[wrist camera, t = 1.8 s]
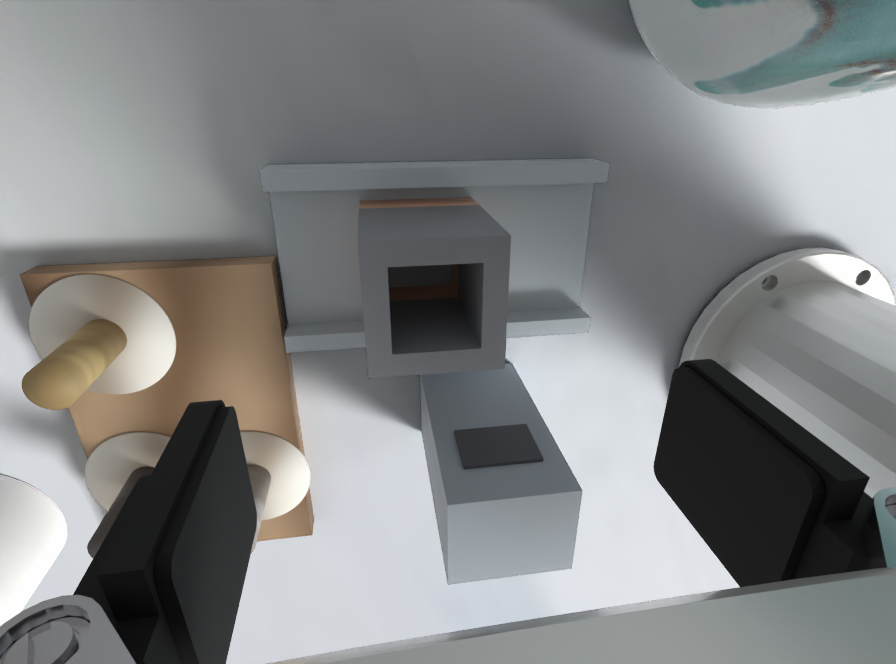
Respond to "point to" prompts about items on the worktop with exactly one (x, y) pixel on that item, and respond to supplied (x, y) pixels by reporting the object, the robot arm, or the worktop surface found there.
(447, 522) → the gray rectangular block
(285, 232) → the chute
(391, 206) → the sleeve
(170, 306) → the pin board
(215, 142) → the worktop surface
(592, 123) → the worktop surface
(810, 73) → the vase
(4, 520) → the cylindrical container
